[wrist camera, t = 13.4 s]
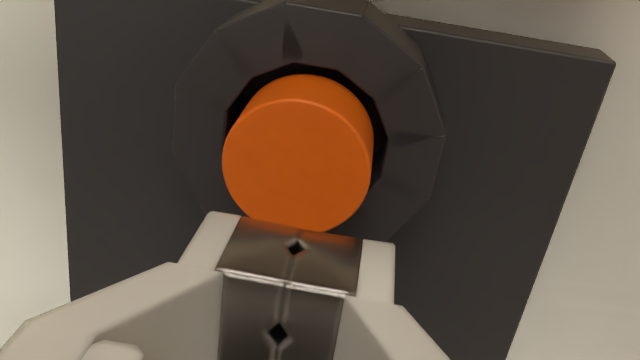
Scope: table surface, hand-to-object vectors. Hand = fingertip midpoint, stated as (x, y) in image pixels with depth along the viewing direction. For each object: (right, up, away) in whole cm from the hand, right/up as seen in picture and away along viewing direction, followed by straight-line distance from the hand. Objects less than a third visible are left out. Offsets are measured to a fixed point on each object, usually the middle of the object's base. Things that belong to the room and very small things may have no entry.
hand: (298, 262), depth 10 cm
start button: (0, +2, +4) cm, 4 cm away
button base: (0, -1, +8) cm, 9 cm away
